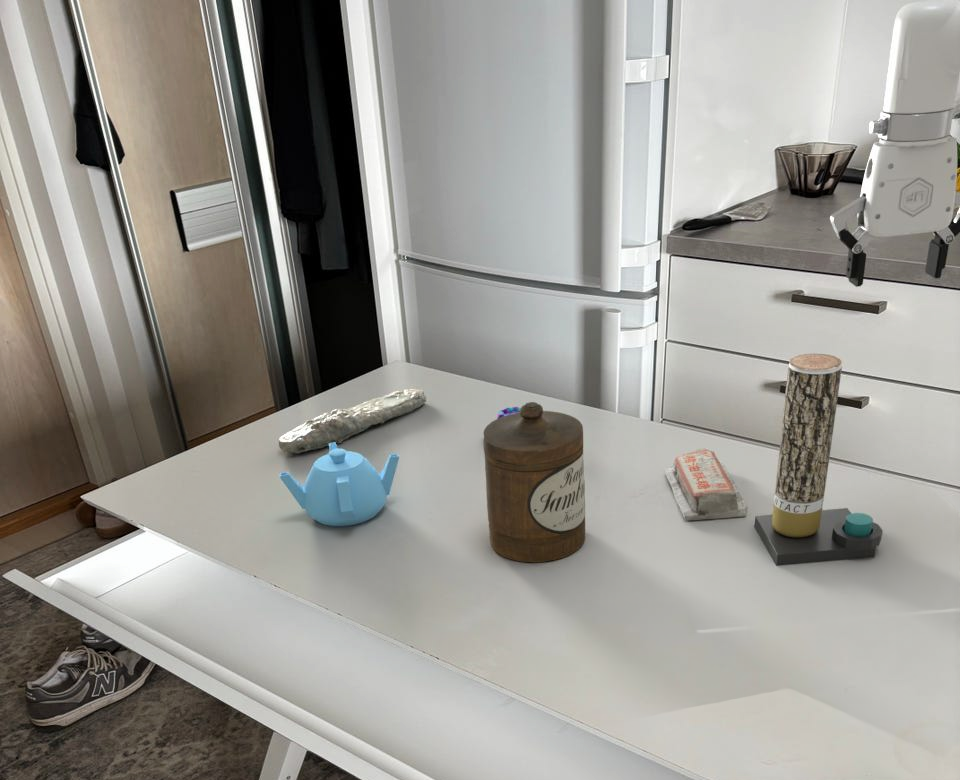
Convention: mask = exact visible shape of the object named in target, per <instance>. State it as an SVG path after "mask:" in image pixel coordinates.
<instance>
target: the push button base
mask: <svg viewBox="0 0 960 780" xmlns="http://www.w3.org/2000/svg"><path fill="white" fill-rule="evenodd" d="M849 514H852V512H851V511H850V509H849V508H848V507H844V508H834V509H833V508H831V509H822V514H821V521H820V527H819V529H818V531H817V532H816V533H814V534H813V535H810V536H807V537H789V536H785V535H782V534H780V533H778V532H777V531H776V530H775V529H774V528H773V526H772V517H773V514H762V515H755V516H754V524H753V526H754V529H755V531H756V532H757V534H758V536H759V538H760V540H761V541H762V543H763V545H764V547H765V548H766V550H767V552H768V553H769V555H770V557H771V559H772V561H773V563H774V564H775V566H778V567H779V566H790V565H803V564H812V563H813V564H814V563H824V562H825V563H826V562H837V561H849V560H859V559H871V558H872V559H873V558H875V557H876V551H877V547H879V546H880V545H881V541H882V536H883V531H884V530H883V528H882V527H881V526H880V525H879V524H878V523H876V522H874V521H873V523H872V529H871V533H870V535H868V536H853V535H849V534H847V533H845V531H844V528H845V521H846V517H847V516H848V515H849Z"/></svg>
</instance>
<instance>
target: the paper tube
mask: <svg viewBox="0 0 960 780" xmlns="http://www.w3.org/2000/svg"><path fill="white" fill-rule="evenodd" d="M788 362H789V363H788V366H787V367H788V368H787V376H786V385H785V395H784V404H783V413H782V423H781V432H780V441H779V450H778V451H779V452H778V460H777V470H776V479H775V486H774V487H775V489H774V498H773V509H772V515H773V517H772V526H773V528H774V529H775V530H776V531H777V532H778V533H780V534H782V535H785V536H789V537H807V536H810V535H813V534H814V533H816V532H817V531H818V529H819V527H820V521H821V514H822V510H823V506H824V500H825V493H826V485H827V479H828V471H829V464H830V456H831V449H832V442H833V436H834V435H833V434H834V426H835V421H836V412H837V405H838V398H839V392H840V383H841V376H842V370H843V360H842V359H841V358H839V357H837V356H834V355H831V354H826V353H803V354H797V355H795V356H793V357H790V358H789V360H788Z"/></svg>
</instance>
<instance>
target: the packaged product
mask: <svg viewBox="0 0 960 780" xmlns="http://www.w3.org/2000/svg"><path fill="white" fill-rule="evenodd" d="M664 473H665V476H666V478H667V480H668V483H669V484H670V486H671V490H672V493H673V495H674V499H675V503H676V504H677V505H678V506H679V510H680V512H681V514H682V516H683V518H684V520H685V521H699V520H700V521H701V520H714V519H715V520H716V519H717V520H718V519H729V518H741V517H742V518H743V517H747V515H748V514H747V513H748V506H747V503H746V502H745V500H744V499H743V497H742V495H741V493H740V491H739V489H738V486H736V484H735V482H734V480H733V478H732V476H731V474H730V472H729V470H728V468H727V466H726V465H725V462H724V461H723V460H719V459H718V458H717V456H716V453H715V451H714V450H709V449H707V448H700V449H696V450H694V451H690V452H687V453H684V454H681V455H679V456H676V457H675V459H674V461H673V466H671V467H670V468H668V467H664Z"/></svg>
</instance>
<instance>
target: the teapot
mask: <svg viewBox="0 0 960 780" xmlns="http://www.w3.org/2000/svg"><path fill="white" fill-rule="evenodd" d="M337 444H338V443H337ZM337 444H336V442H334V443H329V446H328V448H329V452H328V453H327V454H324V455H322V456H320V457H318V458H317V459H316V460H315V461H314V463H313V464H312V466H311V468H310V471H309V473H308V475H307V477H306V481H305V483H304V485H302V484H301V483H300V482H299V481H298V480H297V479H296V478H294V476H293V475H292V474H291V473H290V471H284V472H280V473H279V474H278V475H279V478H280V480H281V481H282V482H283V484H284V486H285V487H286V488H287V489H288V491H289V492H290V494H291V495H292V497H293V498H294V499H295V501H296V502H297V503H298V505H299V506H300V507H301V509H303V510H305V512H306V514H307V515H308V516H309V517H310V518H312V519H313V520H315V521H316V522H318V523H319V524H322V525H325V526H329V527H349V526H354V525H358V524H359V525H360V524H363V523H365V522H367V521H369V520H371V519H373V518H374V517H376V516H377V515H379V513H380V511H381V510H382V509H383V507H384V506H385V504H386V502H387V498H388V496H390V493H391V489H392V485H393V481H394V478H395V474H396V472H397V467H398V464H399V460H400V453H391V454H389V455H388V458H387V460H386V462H385V464H384V466H383V468H382V471H381V472H380V473H379V472H378V471H377V470H376V468H375V467H374V466H373V465H372V464H371V463H370V461H369V460H368V459H367V458H366V457H364V456H363V455H362V454H361V453H359V452H356V451H348V450H346V449H344V448H339V447H338V445H337Z"/></svg>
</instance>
